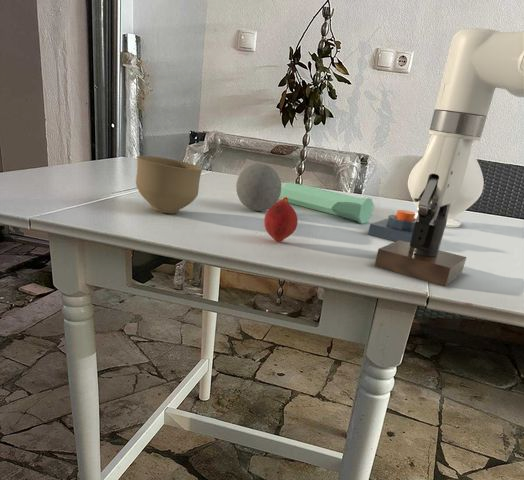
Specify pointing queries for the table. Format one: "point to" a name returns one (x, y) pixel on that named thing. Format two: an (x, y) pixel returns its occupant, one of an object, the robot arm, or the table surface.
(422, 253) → the knob
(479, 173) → the decorative vase
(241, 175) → the decorative ball
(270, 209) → the onion
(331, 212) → the green hexagonal prism
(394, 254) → the brown rectangular block
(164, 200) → the bowl
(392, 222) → the button box
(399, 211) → the button
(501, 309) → the table surface
